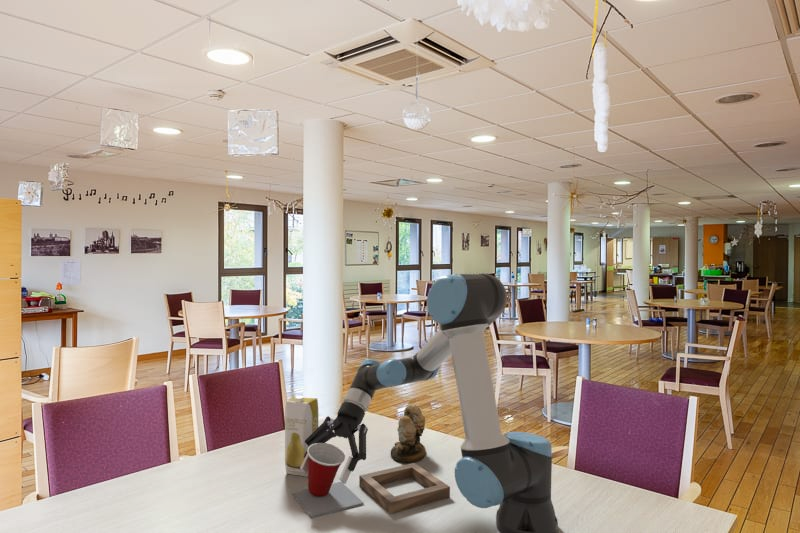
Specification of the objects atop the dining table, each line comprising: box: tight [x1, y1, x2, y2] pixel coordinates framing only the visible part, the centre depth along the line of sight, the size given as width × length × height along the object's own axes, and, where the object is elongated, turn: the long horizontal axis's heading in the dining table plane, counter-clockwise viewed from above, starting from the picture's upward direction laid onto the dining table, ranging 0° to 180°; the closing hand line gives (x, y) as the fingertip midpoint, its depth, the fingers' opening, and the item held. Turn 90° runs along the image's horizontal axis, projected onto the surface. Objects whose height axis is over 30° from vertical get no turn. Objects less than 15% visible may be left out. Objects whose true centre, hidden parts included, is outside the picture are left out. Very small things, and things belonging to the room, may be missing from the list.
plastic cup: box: [307, 442, 346, 497], centre depth 148 cm, size 11×11×12 cm
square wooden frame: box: [358, 462, 451, 514], centre depth 151 cm, size 19×19×3 cm
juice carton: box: [284, 395, 319, 478], centre depth 164 cm, size 9×8×24 cm
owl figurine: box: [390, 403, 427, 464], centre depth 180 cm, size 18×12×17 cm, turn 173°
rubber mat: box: [291, 481, 365, 518], centre depth 146 cm, size 15×15×1 cm
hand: (322, 476), depth 144 cm, fingers open, 13 cm apart
